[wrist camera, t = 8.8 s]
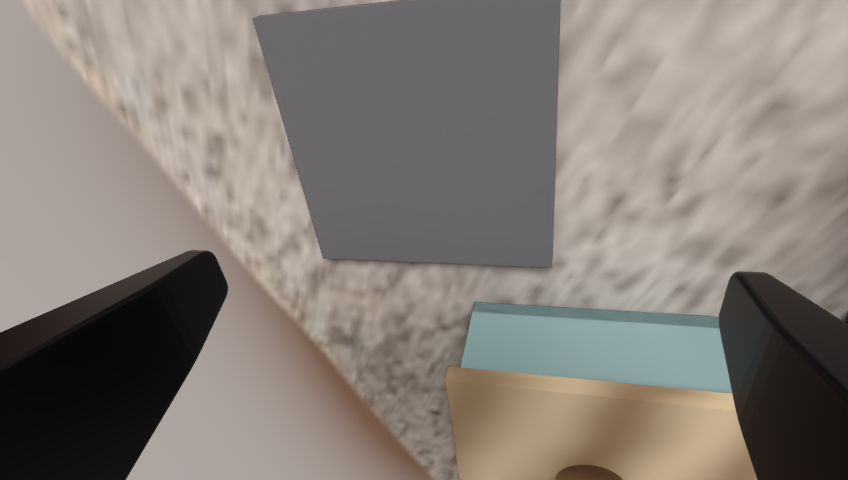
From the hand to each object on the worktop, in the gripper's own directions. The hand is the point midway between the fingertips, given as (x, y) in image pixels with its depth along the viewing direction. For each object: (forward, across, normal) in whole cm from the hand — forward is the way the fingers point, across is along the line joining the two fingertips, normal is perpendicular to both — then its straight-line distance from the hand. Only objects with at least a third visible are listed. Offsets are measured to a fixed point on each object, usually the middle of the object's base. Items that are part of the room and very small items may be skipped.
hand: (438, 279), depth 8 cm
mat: (+13, +4, +3) cm, 14 cm away
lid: (+8, -4, +18) cm, 20 cm away
